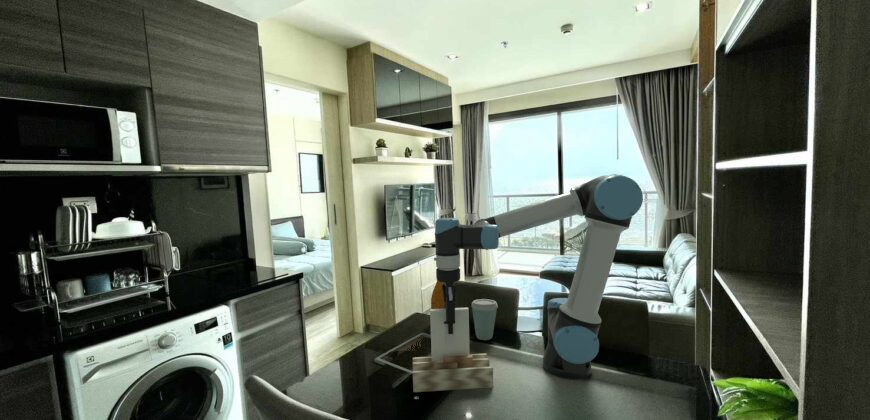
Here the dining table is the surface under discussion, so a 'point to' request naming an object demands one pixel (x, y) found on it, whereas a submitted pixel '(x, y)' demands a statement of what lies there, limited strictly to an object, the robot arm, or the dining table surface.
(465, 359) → the offcut near sheet
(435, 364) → the offcut front
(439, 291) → the wine bottle
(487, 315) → the disposable coffee cup
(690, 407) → the dining table surface
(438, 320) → the tall sheet
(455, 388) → the rack
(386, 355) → the picture frame
